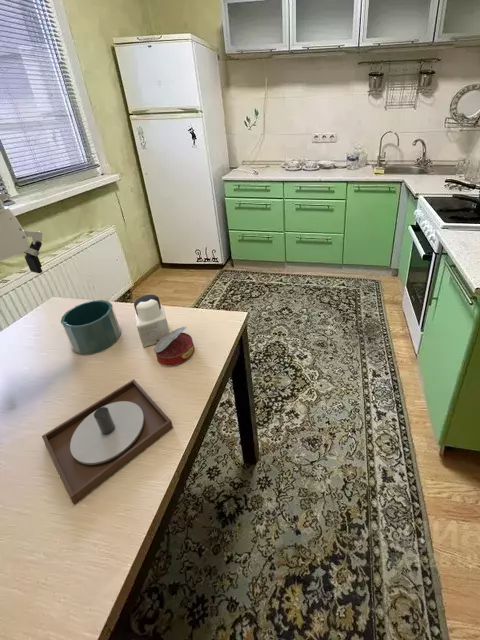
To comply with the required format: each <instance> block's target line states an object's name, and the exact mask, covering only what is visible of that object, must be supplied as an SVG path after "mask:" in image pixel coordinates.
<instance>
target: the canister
mask: <svg viewBox="0 0 480 640" xmlns="http://www.w3.org/2000/svg"><path fill="white" fill-rule="evenodd" d="M60 324H61V327H62V329H63V331H64V334H65V336H66V338H67V341H68V342H69V345H70V347H71V349H72V350H73V352H74V353H75V354H78V355H93V354H97V353H100V352H103V351H104V350H106V349H108V348H111V346H113V345H114V344H115V343H116V342H117V341H118V340H119V339H120V336H121V333H122V332H121V327H120V324H119V321H118V318H117V315H116V312H115V309H114V306H113V304H112V303H111V302H110V301H109V300H103V299H97V300H96V299H95V300H90V301H85V302H82V303H80V304H78V305H75V306H73V307H72V308H70V309H68V310H67V311H66V312H64V314H63V315H62V316H61V319H60Z"/></svg>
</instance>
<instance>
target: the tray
mask: <svg viewBox="0 0 480 640" xmlns="http://www.w3.org/2000/svg"><path fill="white" fill-rule="evenodd" d="M120 401H127V402H132V403H135V404H136V405H138V406H139V407H140V408H141V410H142V412H143V415H144V425H143V428H142V431H141V433H140V435H139V436H138V438H137V439H136V441H135V442H134V443H133V444H132V445H131V446H130V447H129V448H128V449H127V450H126V451H124V452H123V453H122V454H120V455H119V456H117V457H115V458H114V459H112V460H109V461H107V462H104V463H100V464H95V465H87V464H82V463H80V462H78V461H77V460H75V459H74V457H73V456H72V453H71V450H70V443H71V439H72V436H73V434H74V432H75V430H76V429H77V427H78V426H79V425H80V423H81V422H82V421H83V420H84V419H85V418H86V417H87V416H89V415H90V414H91V413H93V412H94V411H96V410H97V409H99V408H101V407H103V406H105V405H108V404H111V403H114V402H120ZM173 428H174V426H173V423H172V420H171V419H170V418H169V416H167V414H166V413H165V412H164V411H163V410H162V409H161V408H160V406H158V404H157V403H156V402H155V401H154V400H153V399H152V398H151V396H150V395H149V394H148V393H147V392H146V391H145V389H143V387H141V385H140V384H139V383H138V382H137V380H136V379H132V380H130V381H128V382H126V383H125V384H124V385H122V386H121V387H119V388H117V389H115V390H113V391H112V392H111V393H109V394H108V395H105V396H104V397H102V398H101V399H100V400H98V401H96V402H95V403H93V404H92V405H89V406H88V407H86V408H85V409H83V410H82V411H80V412H78V413H77V414H75V415H74V416H72V417H70V418H69V419H67V420H65V421H64V422H62V423H60V424H59V425H57V426H55V427H54V428H53V429H51V430H49V431H48V432H46V433H44V434H43V435H41V438H42V440H43V443H44V444H45V446H46V449H47V451H48V453H49V455H50V458H51V460H52V461H53V464H54V466H55V468H56V471H57V472H58V475H59V476H60V479H61V481H62V483H63V486H64V488H65V490H66V492H67V494H68V496H69V497H70V500H71V502H72V504H73V505H76V504H77V503H78V502H80V501H81V500H82V499H84V498H85V497H86V496H88V494H89V493H91V492H92V491H94V490H95V489H96V488H97V487H99V486H100V485H101V484H102V483H104V482H105V481H106V480H108V479H109V478H110V477H112V475H114V474H115V473H117V472H118V471H120V470H121V469H122V468H123V467H124V466H126V465H127V464H128V463H129V462H130V461H132V460H133V459H135V458H136V457H137V456H138V455H140V454H141V453H142V452H144V451H145V450H146V449H147V448H148V447H150V446H152V444H154V443H155V442H156V441H157V440H159V439H160V438H161V437H163V436H164V435H165V434H167V433H168V432H169V431H171V429H173Z"/></svg>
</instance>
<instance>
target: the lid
mask: <svg viewBox="0 0 480 640" xmlns="http://www.w3.org/2000/svg"><path fill="white" fill-rule="evenodd" d="M143 425H144V415H143V412H142V410H141V408H140V407H139V406H138V405H136V404H135V403H132V402H127V401H120V402H114V403H111V404H108V405H105V406H103V407H101V408H99V409H97V410H96V411H94V412H93V413H91V414H90V415H89V416H87V417H86V418H85V419H84V420H83V421H82V422H81V423H80V425H79V426H78V427H77V429H76V430H75V432H74V434H73V436H72V439H71V443H70V450H71V453H72V456H73V457H74V459H75V460H77V461H78V462H80V463H82V464H87V465H95V464H100V463H104V462H107V461H109V460H112V459H114V458H115V457H117V456H119V455H120V454H122V453H123V452H124V451H126V450H127V449H128V448H129V447H130V446H131V445H132V444H133V443H134V442H135V441H136V439H137V438H138V436H139V435H140V433H141V431H142V428H143Z"/></svg>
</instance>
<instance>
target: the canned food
mask: <svg viewBox="0 0 480 640" xmlns="http://www.w3.org/2000/svg"><path fill="white" fill-rule="evenodd" d="M186 329H187V326H181V327H178V328H176V329H174V330H172V331H170V333H169V334H167V335H166V336H164V337H163V338H162V339H160V340H159V341H158V342H157V343H156V344H155V345H154V348H153V351H154V353H155V356H156V360H157V362H158V363H159V364H160V365H161V366H165V367H176V366H179V365H182V364H183V363H186V362H187V361H188V360H190V359H191V358H192V356H193V354H194V352H195V346H194V345H195V344H194V341H193V336H192V335H190V334H188V333H186V332H184V331H185V330H186Z"/></svg>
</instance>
